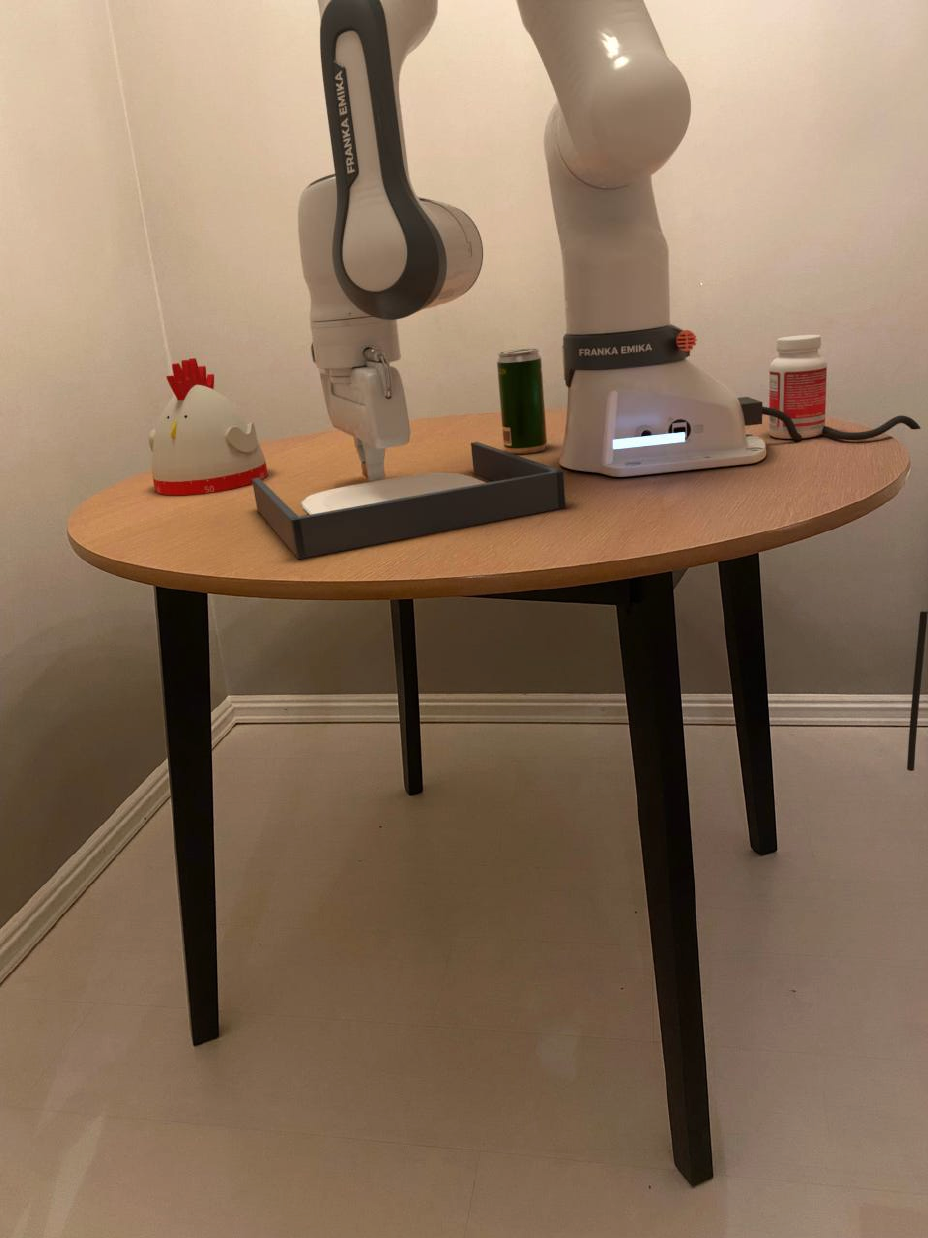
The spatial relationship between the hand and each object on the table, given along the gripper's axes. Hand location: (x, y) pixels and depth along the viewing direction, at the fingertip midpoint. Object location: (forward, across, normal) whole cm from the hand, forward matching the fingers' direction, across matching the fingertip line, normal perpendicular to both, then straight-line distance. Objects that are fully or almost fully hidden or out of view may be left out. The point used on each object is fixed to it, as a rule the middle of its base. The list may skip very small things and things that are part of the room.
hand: (374, 478), depth 102 cm
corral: (+2, -9, 0) cm, 9 cm away
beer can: (+2, +9, -22) cm, 24 cm away
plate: (+2, -10, 0) cm, 11 cm away
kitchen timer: (+2, +23, +15) cm, 27 cm away
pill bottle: (+2, -8, -49) cm, 50 cm away
